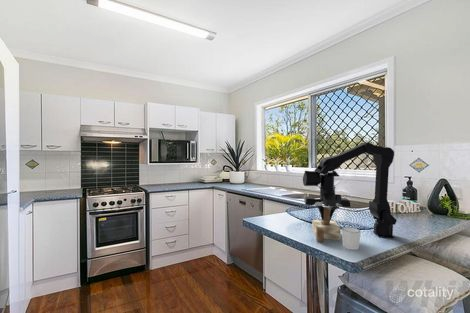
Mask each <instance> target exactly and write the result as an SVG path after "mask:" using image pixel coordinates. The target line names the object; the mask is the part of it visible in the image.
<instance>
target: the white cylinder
mask: <svg viewBox="0 0 470 313" xmlns="http://www.w3.org/2000/svg"><path fill="white" fill-rule="evenodd" d="M361 233H362V231H361V229H359V228H356V227H352V226H351V227H350V226H343V227H341V237H342V238H341V239H342V247H343V248H344V247H345V248H344V249H346V248H347V250H350V249H351V250H352V251H357V250H359V246H360V240H361V239H360V238H361Z"/></svg>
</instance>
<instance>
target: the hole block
mask: <svg viewBox="0 0 470 313" xmlns="http://www.w3.org/2000/svg"><path fill="white" fill-rule="evenodd" d="M311 223H312V224H311V225H312V226H311V230H312V232H313V235H314V237H315V238H316V228H322V229H323V230H324V240H341V235H342V227H341V226H339V224H338V223H337V222H336V220H330V225H322V219H312V222H311Z"/></svg>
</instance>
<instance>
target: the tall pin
mask: <svg viewBox="0 0 470 313" xmlns="http://www.w3.org/2000/svg"><path fill="white" fill-rule="evenodd" d="M323 217H324V218H323V221H322V225H330V221H331V220H330V208H329V206H323Z"/></svg>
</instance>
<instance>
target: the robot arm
mask: <svg viewBox="0 0 470 313" xmlns="http://www.w3.org/2000/svg"><path fill="white" fill-rule="evenodd" d="M365 153H366V154H368V155H369V156H370V155H371V156H372V160H373V162H374V165H375V167H376V168H375V181H374V182H375V185H374V199H373V200H369V202H368V205H369V206H368V210H369V213H370V214H371V216H372V218H373V219H374V223H373V231H372V232H373V233H374V235H376V236H377V237H379V238H388V239H389V238H391V239H393V238H396V237H395V236H394V234H393V233H394V225H396V224H397V222H398V220H397V219H396V218H395V217H394V216H393V215H392V212H391V211H392V210H391V206H390V204H389V201H388V188H389V172H390V170H389V169H390V167H391V166H392V164H393V161H394V158H395V151H394V149H393V148H391V147H389V146H387V147H384V146H379V145H376V144H373V143H370V142H360V143H359V144H358V145H356V146H354V147H351V148H349V149H347V150H345V151H343V152H339V153H338V154H335V155H330V156H326V157H322V158H321V159H320V160H319V164H318V165H317V167H316V168H315V169H314V170H304V174H303V177H302V184H303V186H304V187H318V186H319V198H315V197H314V196H305V197H304V201H303V202H304V204H305V205H306V206H314V207H315V208H317V209H318V212H319V215H320V218H321V220H322V221H323V218H324V217H323V207H329V208H330V221H332V217H333V215H334V213H335V211H336V210H337V209H340V206H339V205H341V206H342V207H343V208H351V201H350V200H349V199H348V198H346V197H342V195H341V194H335V177H340V174H339V173H338V172H337V171H336V170H337V169H338V168H340V167H341V166H342V164H344V163H347V162H348V161H350V160H353V159H355V158H356V157H358V156H361V155H363V154H365Z"/></svg>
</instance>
